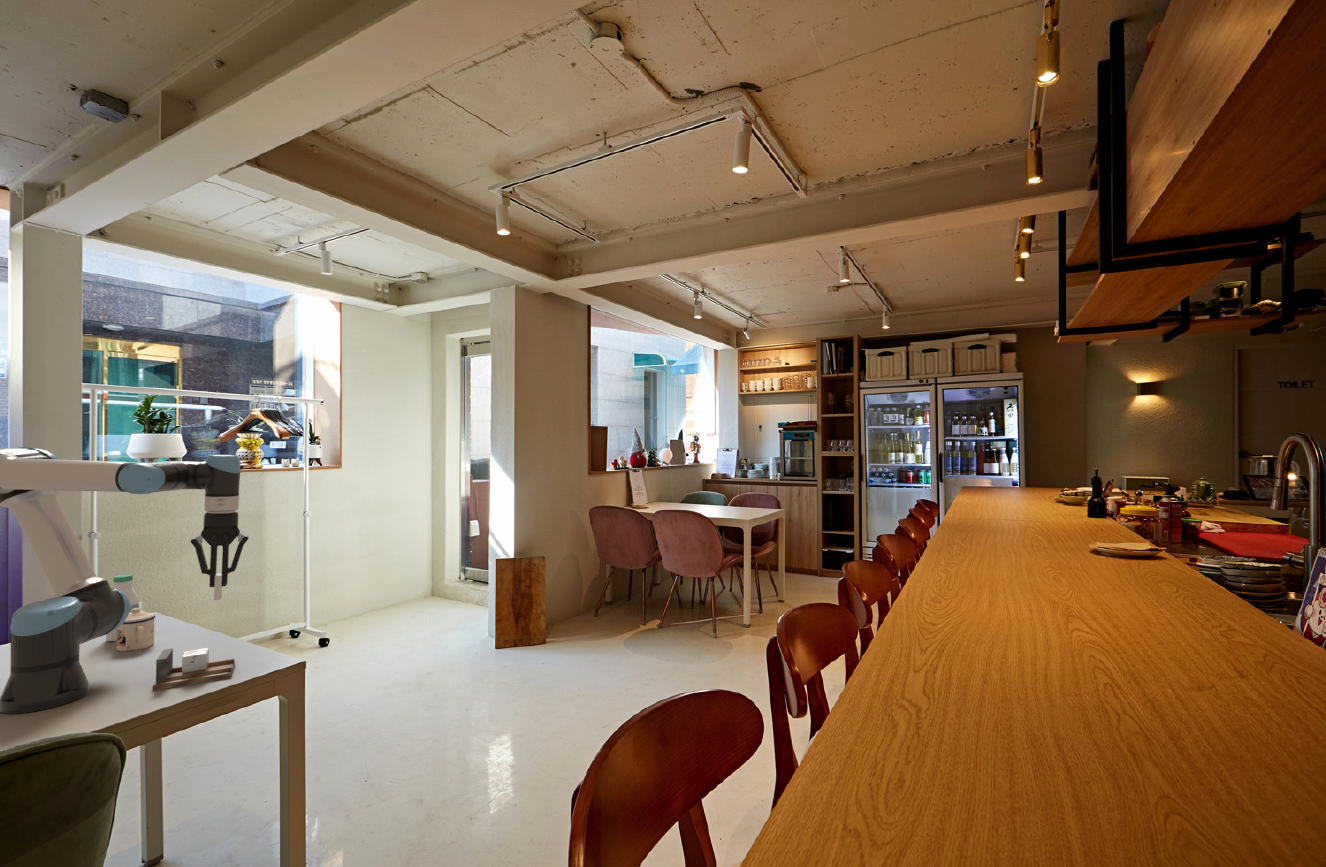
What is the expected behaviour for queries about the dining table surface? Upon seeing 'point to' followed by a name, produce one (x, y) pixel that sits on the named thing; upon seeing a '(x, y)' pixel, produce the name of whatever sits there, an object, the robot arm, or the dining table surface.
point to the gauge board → (174, 676)
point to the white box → (195, 661)
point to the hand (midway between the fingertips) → (217, 598)
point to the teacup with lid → (136, 631)
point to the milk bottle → (125, 586)
